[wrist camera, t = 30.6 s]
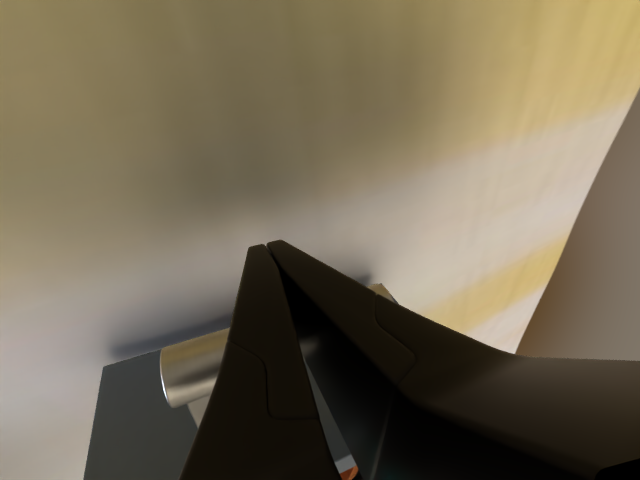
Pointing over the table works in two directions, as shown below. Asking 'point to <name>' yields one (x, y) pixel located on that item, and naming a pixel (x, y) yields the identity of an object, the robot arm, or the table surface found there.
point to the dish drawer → (171, 410)
